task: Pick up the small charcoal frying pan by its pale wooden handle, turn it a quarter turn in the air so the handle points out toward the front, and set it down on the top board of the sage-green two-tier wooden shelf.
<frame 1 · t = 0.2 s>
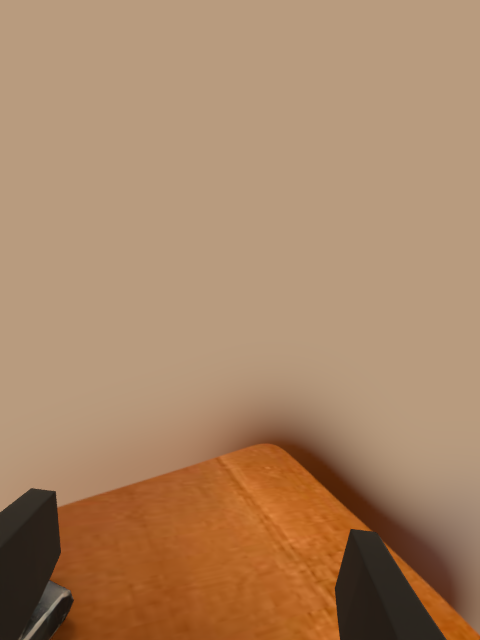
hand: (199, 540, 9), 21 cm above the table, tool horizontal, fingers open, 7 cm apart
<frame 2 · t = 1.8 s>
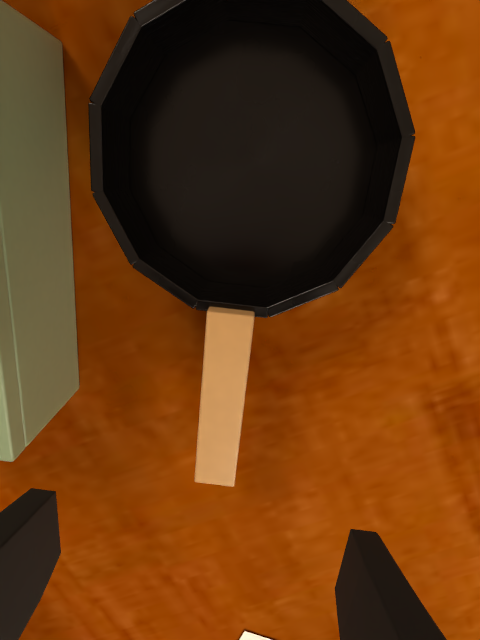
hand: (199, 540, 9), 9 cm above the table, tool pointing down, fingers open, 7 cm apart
pan: (249, 168, 15), on the table
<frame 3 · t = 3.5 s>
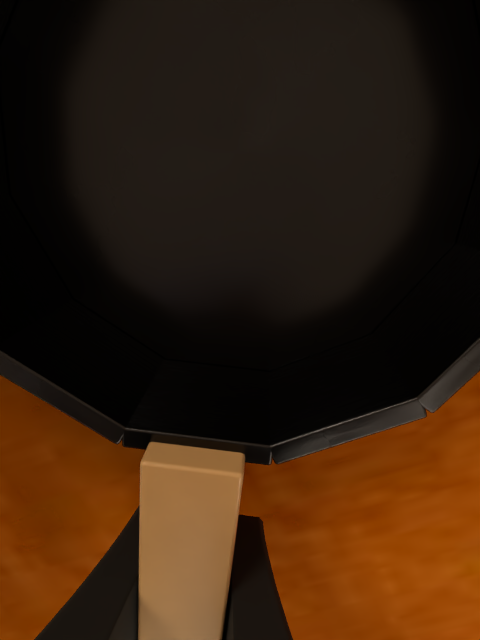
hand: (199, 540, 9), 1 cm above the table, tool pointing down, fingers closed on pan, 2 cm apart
pan: (237, 155, 8), on the table, touching gripper
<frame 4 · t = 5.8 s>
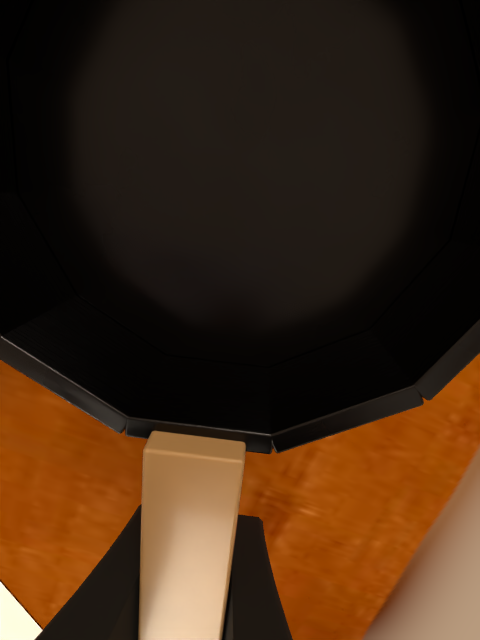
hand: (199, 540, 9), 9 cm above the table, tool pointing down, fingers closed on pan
pan: (238, 155, 8), point 8 cm above the table, touching gripper
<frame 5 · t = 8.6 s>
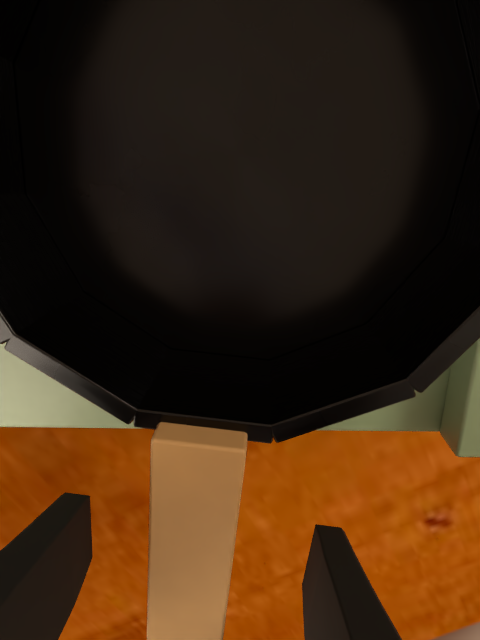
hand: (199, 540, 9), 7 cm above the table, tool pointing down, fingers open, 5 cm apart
pan: (239, 155, 8), point 5 cm above the table, touching shelf
shelf: (216, 180, 13), on the table
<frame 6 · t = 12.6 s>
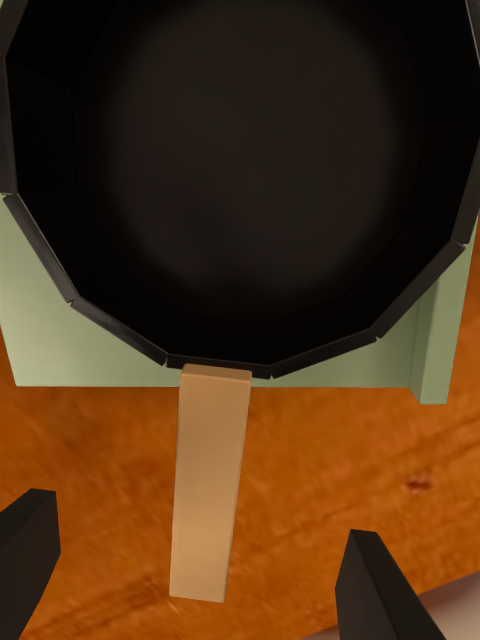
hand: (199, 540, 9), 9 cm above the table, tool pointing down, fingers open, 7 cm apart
pan: (244, 161, 10), point 5 cm above the table, touching shelf
shelf: (223, 180, 15), on the table
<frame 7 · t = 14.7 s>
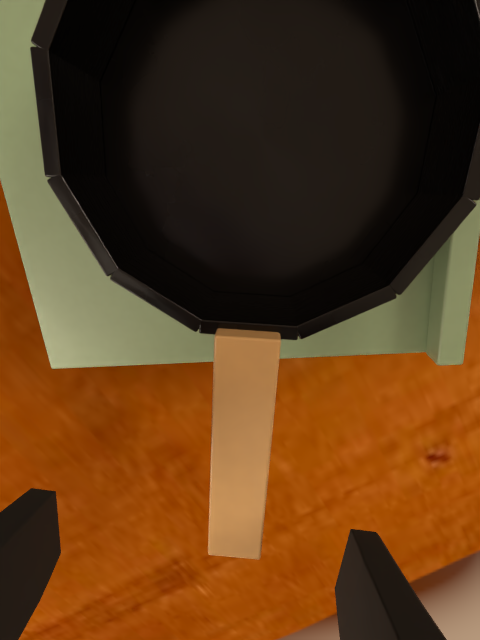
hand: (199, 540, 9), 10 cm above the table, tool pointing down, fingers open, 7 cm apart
pan: (262, 140, 11), point 5 cm above the table, touching shelf
shelf: (236, 167, 16), on the table
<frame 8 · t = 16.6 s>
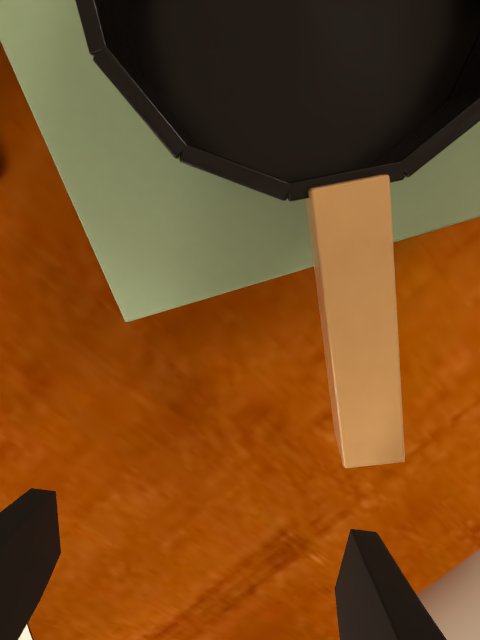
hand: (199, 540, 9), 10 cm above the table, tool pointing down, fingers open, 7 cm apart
shelf: (265, 80, 15), on the table
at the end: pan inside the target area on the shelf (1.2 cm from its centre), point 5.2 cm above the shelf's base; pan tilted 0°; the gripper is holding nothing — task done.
